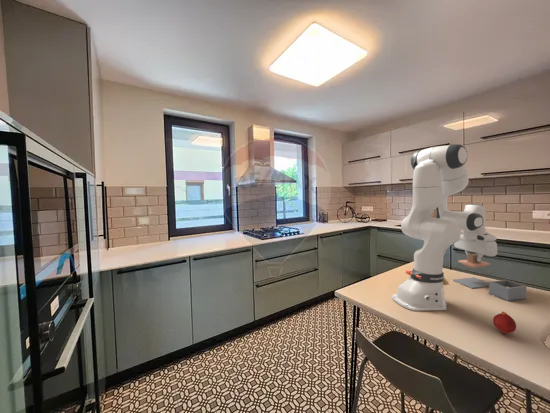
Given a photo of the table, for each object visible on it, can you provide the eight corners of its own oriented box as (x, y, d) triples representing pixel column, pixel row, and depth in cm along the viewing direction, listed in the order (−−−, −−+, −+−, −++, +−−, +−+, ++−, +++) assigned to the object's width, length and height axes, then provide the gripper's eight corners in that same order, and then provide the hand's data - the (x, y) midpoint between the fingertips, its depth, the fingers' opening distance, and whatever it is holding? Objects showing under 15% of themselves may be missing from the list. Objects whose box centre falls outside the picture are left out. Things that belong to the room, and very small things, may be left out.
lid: (473, 269, 119) (473, 257, 119) (458, 264, 127) (458, 253, 127) (490, 267, 121) (490, 255, 120) (474, 262, 129) (474, 251, 128)
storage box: (508, 301, 104) (508, 288, 103) (489, 293, 112) (489, 281, 111) (526, 299, 105) (526, 286, 105) (506, 291, 113) (506, 279, 113)
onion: (503, 328, 85) (504, 307, 84) (520, 338, 79) (521, 315, 79) (488, 329, 85) (489, 308, 84) (504, 339, 79) (505, 316, 78)
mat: (472, 288, 118) (472, 287, 118) (452, 280, 129) (452, 279, 129) (494, 285, 120) (494, 285, 120) (473, 278, 131) (473, 277, 131)
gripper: (451, 231, 132) (451, 255, 133) (489, 238, 112) (489, 266, 113) (460, 230, 133) (460, 254, 134) (500, 237, 113) (499, 265, 114)
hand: (473, 259), depth 124 cm, fingers closed on lid, 3 cm apart
